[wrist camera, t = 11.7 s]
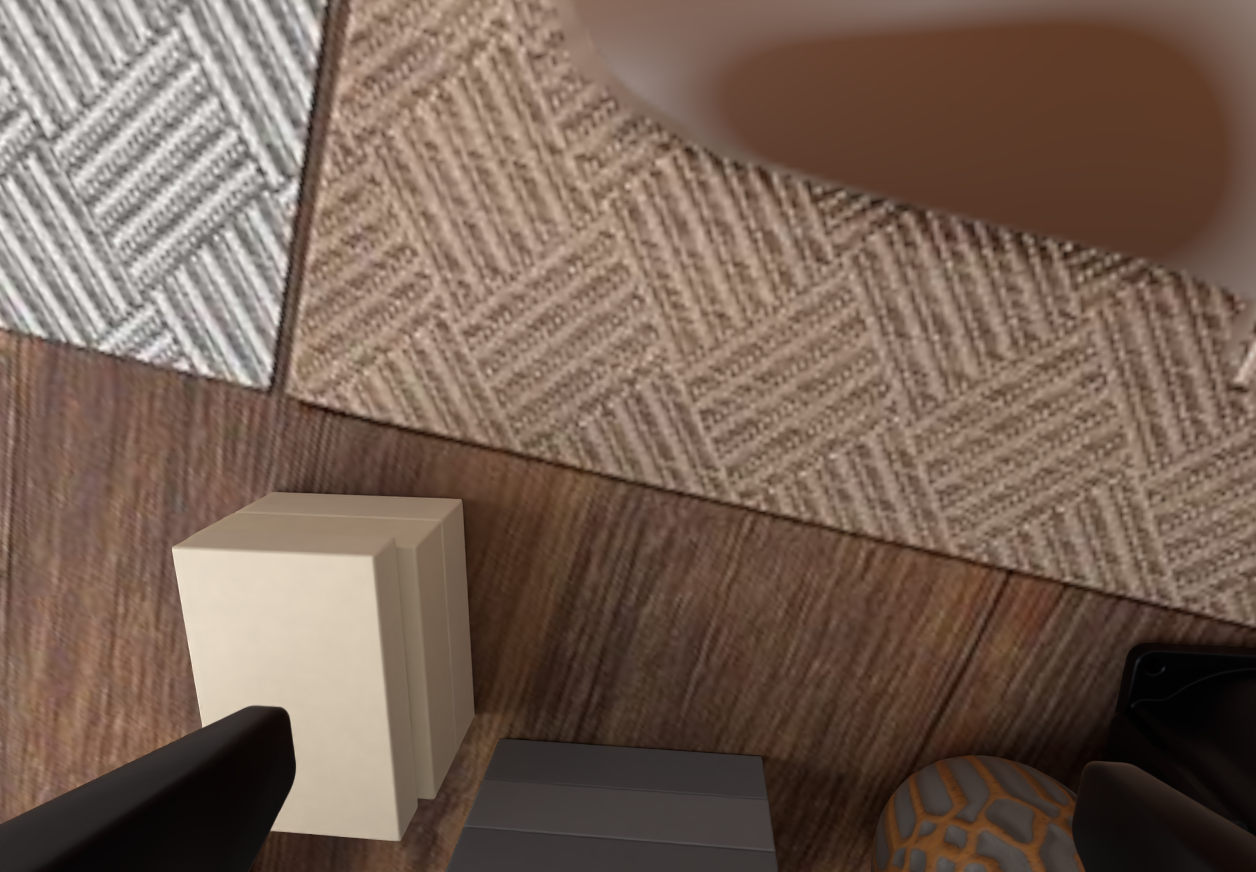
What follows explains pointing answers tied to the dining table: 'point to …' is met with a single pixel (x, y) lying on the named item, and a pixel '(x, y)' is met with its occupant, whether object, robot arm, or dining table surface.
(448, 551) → the beige rectangular block
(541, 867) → the grey stack
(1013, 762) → the vase
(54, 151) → the dining table surface
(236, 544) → the beige flat block
